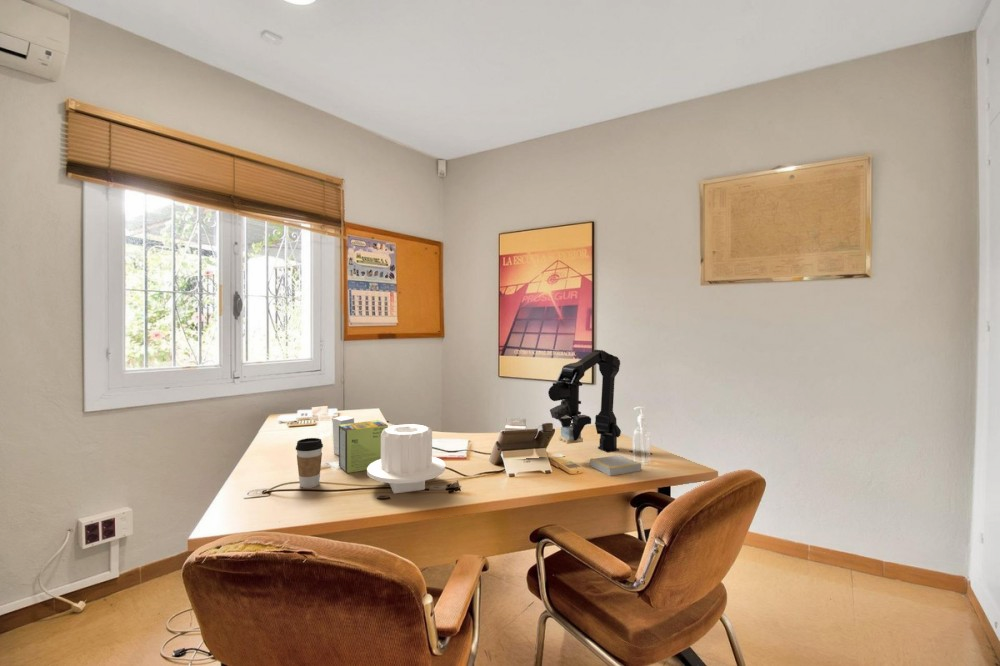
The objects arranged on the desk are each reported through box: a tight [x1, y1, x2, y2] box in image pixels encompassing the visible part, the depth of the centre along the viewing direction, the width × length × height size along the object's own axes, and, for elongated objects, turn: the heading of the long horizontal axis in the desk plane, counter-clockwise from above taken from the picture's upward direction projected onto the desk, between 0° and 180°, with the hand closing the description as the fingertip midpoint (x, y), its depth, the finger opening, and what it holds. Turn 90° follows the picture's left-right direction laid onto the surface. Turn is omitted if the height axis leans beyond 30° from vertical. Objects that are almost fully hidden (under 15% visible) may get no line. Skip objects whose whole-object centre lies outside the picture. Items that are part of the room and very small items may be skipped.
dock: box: [589, 454, 642, 477], centre depth 173 cm, size 14×12×3 cm
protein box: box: [338, 419, 389, 474], centre depth 173 cm, size 10×15×16 cm
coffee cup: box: [295, 437, 324, 489], centre depth 153 cm, size 8×8×15 cm
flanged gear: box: [366, 423, 446, 494], centre depth 152 cm, size 25×25×19 cm
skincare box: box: [331, 415, 355, 456], centre depth 187 cm, size 8×6×15 cm
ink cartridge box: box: [504, 417, 527, 432], centre depth 188 cm, size 9×5×15 cm, turn 84°
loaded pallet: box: [558, 425, 584, 445], centre depth 180 cm, size 7×6×5 cm
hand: (570, 438), depth 180 cm, fingers closed on loaded pallet, 6 cm apart
